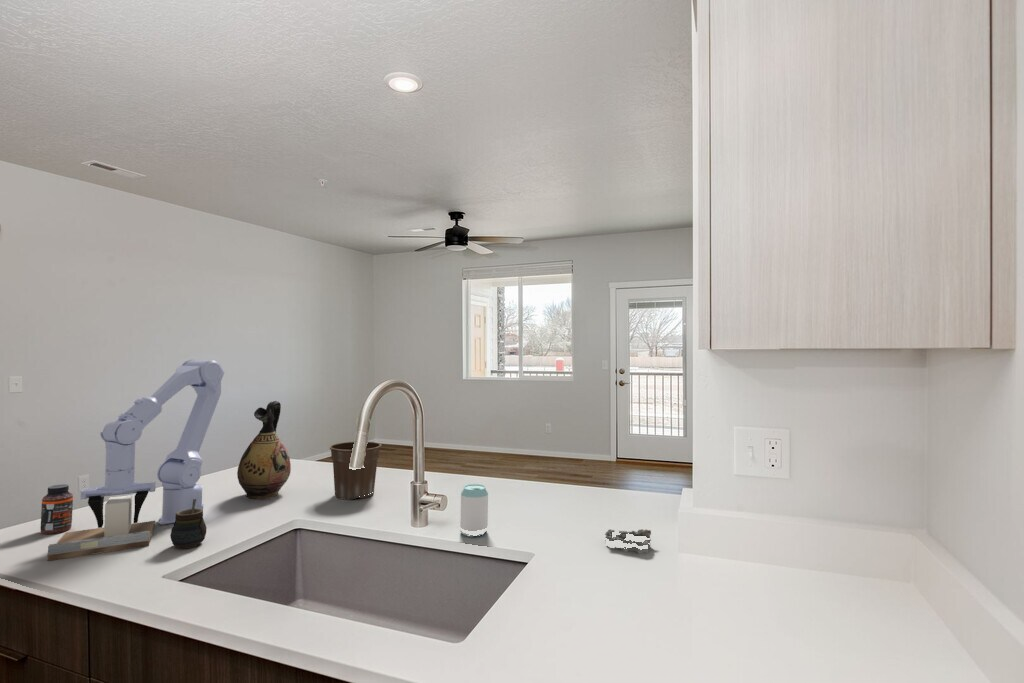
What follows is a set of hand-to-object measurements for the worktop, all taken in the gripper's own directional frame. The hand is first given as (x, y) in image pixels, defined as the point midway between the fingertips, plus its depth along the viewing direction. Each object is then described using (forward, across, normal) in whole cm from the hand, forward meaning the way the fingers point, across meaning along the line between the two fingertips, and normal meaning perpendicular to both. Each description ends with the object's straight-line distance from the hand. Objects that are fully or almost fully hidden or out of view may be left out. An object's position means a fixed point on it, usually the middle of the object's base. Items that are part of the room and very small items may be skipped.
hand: (118, 524), depth 124 cm
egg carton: (+4, +107, -66) cm, 126 cm away
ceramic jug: (+3, +35, +24) cm, 43 cm away
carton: (+2, 0, 0) cm, 2 cm away
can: (+3, +78, -40) cm, 88 cm away
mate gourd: (+3, +15, -14) cm, 21 cm away
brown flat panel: (+3, -2, -2) cm, 4 cm away
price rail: (+2, -2, -10) cm, 10 cm away
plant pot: (+3, +60, +10) cm, 61 cm away
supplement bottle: (+3, -14, +13) cm, 19 cm away
